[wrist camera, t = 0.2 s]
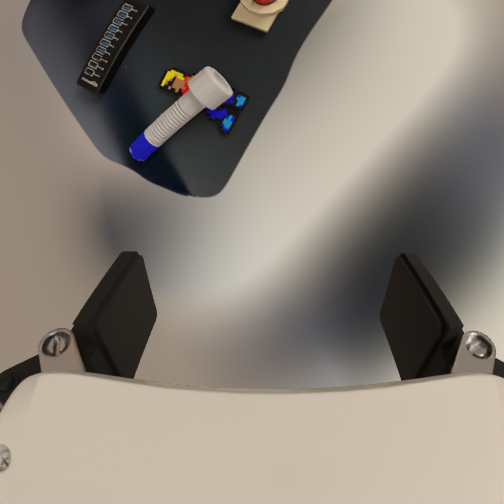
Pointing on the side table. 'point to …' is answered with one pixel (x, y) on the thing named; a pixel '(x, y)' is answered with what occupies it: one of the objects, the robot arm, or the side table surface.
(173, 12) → the side table surface
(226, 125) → the pixel art figurine
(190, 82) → the bolt
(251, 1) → the control block
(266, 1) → the button
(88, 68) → the multiport hub
